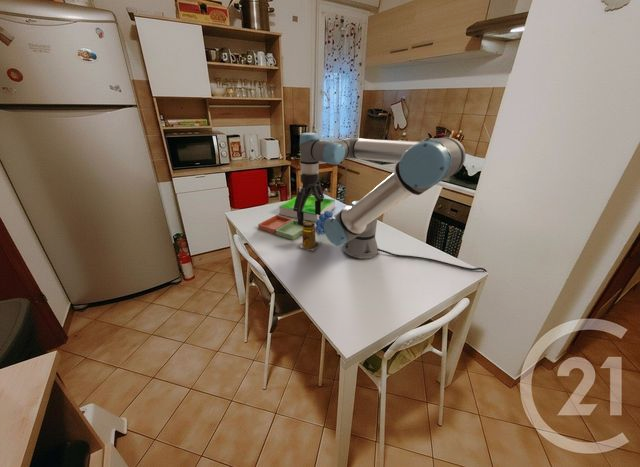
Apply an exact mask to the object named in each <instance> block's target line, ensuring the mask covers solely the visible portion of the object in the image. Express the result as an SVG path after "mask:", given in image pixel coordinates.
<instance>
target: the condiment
mask: <svg viewBox="0 0 640 467" xmlns="http://www.w3.org/2000/svg"><path fill="white" fill-rule="evenodd" d="M315 228H316V223H315V222H313V221H308V220H305V221H304V225H303V229H302V235H301V236H302V237H301V238H302V244H301V245H300V246H299V248H301V249H304V250H307V251H312V252H313V251H315V250H316V249H317V247H318V246H319V245H320V244H321V243H322V242H320V241H316V230H315Z"/></svg>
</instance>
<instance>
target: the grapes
mask: <svg viewBox="0 0 640 467" xmlns="http://www.w3.org/2000/svg"><path fill="white" fill-rule="evenodd" d="M333 216H334V214H333V212H332V211H330V212H329V211H325V212H324V214H321V215H320V216H319V219H318V220H317V221H316V222H315V232H317V233H318V234H319V235H321V234H325V231H324V223H325V221H326V220H327V219H328V218H329V217H333Z"/></svg>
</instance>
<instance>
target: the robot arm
mask: <svg viewBox="0 0 640 467" xmlns="http://www.w3.org/2000/svg"><path fill="white" fill-rule="evenodd" d="M347 159H355V160H367V161H373V162H382V163H384V162H385V163H392V164H394V163H395V166H394V172H393V173H391V174H390V175H389V176H388V177H386V178H385V179H384V180H383V181H382V182H380V183H379V184H378V185H376V187H374V188H373V189H372V190H370V191H369V192H368V193H367V194H366V195H365V196H363V197H362V198H361V199H360V200H354V201H352V202H351V203H350V205H347V206H344V208H342V209H341V210H340V211H339V212H338V213H336V214H335V215H333V216H332V217H329V218H328V219H327V220H326V221H325V223H324V231H325V233H324V235H325V237H326V238H327V240H328V241H329V242H330V243H331V244H333V245H334V246H336V247H340V246H343V251H344V253H345V254H346V255H347V256H349V257H351V258H353V259H358V260H368V259H372V258H374V257H375V256H377V254H378V252H381V253H385V254H388V255H390V256H393V257H400V258H411V259H419V260H424V261H430V262H435V263H439V264H443V265H446V266H451V267H455V268H458V269H463V270H468V271H479V270H480V271H483V272H485V273H487V272H488V271H487V270H486V268H484V267H474V268H473V267H466V266H462V265H458V264H454V263H450V262H446V261H442V260H438V259H434V258H429V257H424V256H415V255H405V254H398V253H397V254H396V253H393V252H390V251H387V250H384V249H380V248H378V247H379V246H378V243H377V240H376V239H377V238H376V232H377V224H378V219H379V217H380V216H382V215H383V214H385V213H386V212H388V211H389V210H390V209H392V208H393V207H395V206H397V205H398V204H399V203H401V202H402V201H404V200H405V199H407V198H408V197H410V196H412V195H414V196H421V195H422V194H424V193H425V192H427V191H428V190H430V189H431V188H433V187H434V186H436V185H437V184H439V183H440V182H442V181H444V180H445V179H447V178H450V177H452V176H454V175H456V174H457V173H458V172H459V171H460V170H461V169H462V167H463V165H464V163H465V161H466V150H465V147H464V145H463V144H462V143H461V141H459V140H458V139H456V138H453V137H449V136H443V137H438V138H437V137H436V138H424V139H422V140H421V141H417V140H397V139H396V140H394V139H375V138H374V139H373V138H359V137H349V138H344V139H337V140H330V141H326V140H320V135H319V133H317V132H303V133H301V134H299V162H300V163H299V165H300V166H299V168H300V173H299V174H300V183H301V184H302V186H301V187H300V186H298V187H297V193H296V196H297V197H296V196H295V197H296V201H295V205H294V209H293V211H296V212H297V218H296V219H297V221H298V225H302V226H303V225H304V222H305V220H304V211H302V210H303V208H304V205H305V203H306V200H307V198H308V197H309V196H314V197H315V198H316V200H317V201H315V214H318V215H321V201H323V199H322V198H325V196H324V192H323V189H322V184H321V180H319V172H320V171H319V170H320V169H319V168H320V167H319V164H320V163H319V162H322V163H325V164H328V165H339V164H341V162H343V161H344V160H347Z"/></svg>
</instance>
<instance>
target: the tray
mask: <svg viewBox="0 0 640 467" xmlns="http://www.w3.org/2000/svg"><path fill="white" fill-rule="evenodd" d="M296 197H297V195H296V196H294V197H293V198H291V199H289V200H288V201H286V202H284V203H283V204H281V205H279V206H278V208H279V215H280V216H284V217H291V218H295V219H298V218H297V212H296V211H293V209H294V205H295V201H296ZM322 199H323V201H321V214H324V212H325V211H329V212H332V210H334V209H335V207H336V204H335V203H336V200H335V199H332V198H327V197H324V198H322ZM315 201H317V200H316V198H315V197H314V195H310V196H309V197H308V198H307V200H306V203H305V205H304V208H303V210H302V211H304V221H312V222H314V223H316V221H317V220H318V219H319V216H320V215H318V214H315Z"/></svg>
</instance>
